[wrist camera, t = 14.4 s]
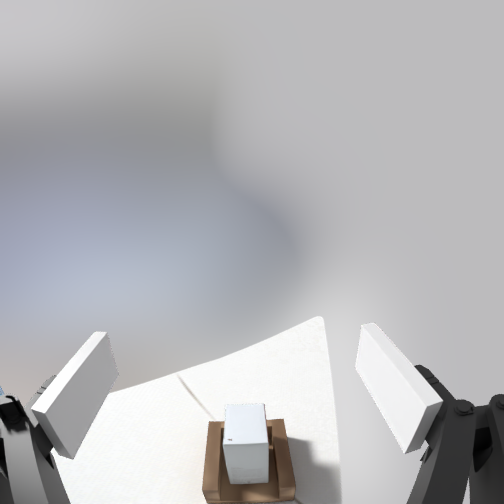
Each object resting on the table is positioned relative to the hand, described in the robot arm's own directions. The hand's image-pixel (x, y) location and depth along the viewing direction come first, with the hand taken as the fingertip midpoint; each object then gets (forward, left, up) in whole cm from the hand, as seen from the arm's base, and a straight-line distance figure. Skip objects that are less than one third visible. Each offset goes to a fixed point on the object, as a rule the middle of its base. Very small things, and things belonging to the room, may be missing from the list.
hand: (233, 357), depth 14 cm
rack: (0, +15, -32) cm, 35 cm away
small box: (0, +15, -31) cm, 34 cm away
